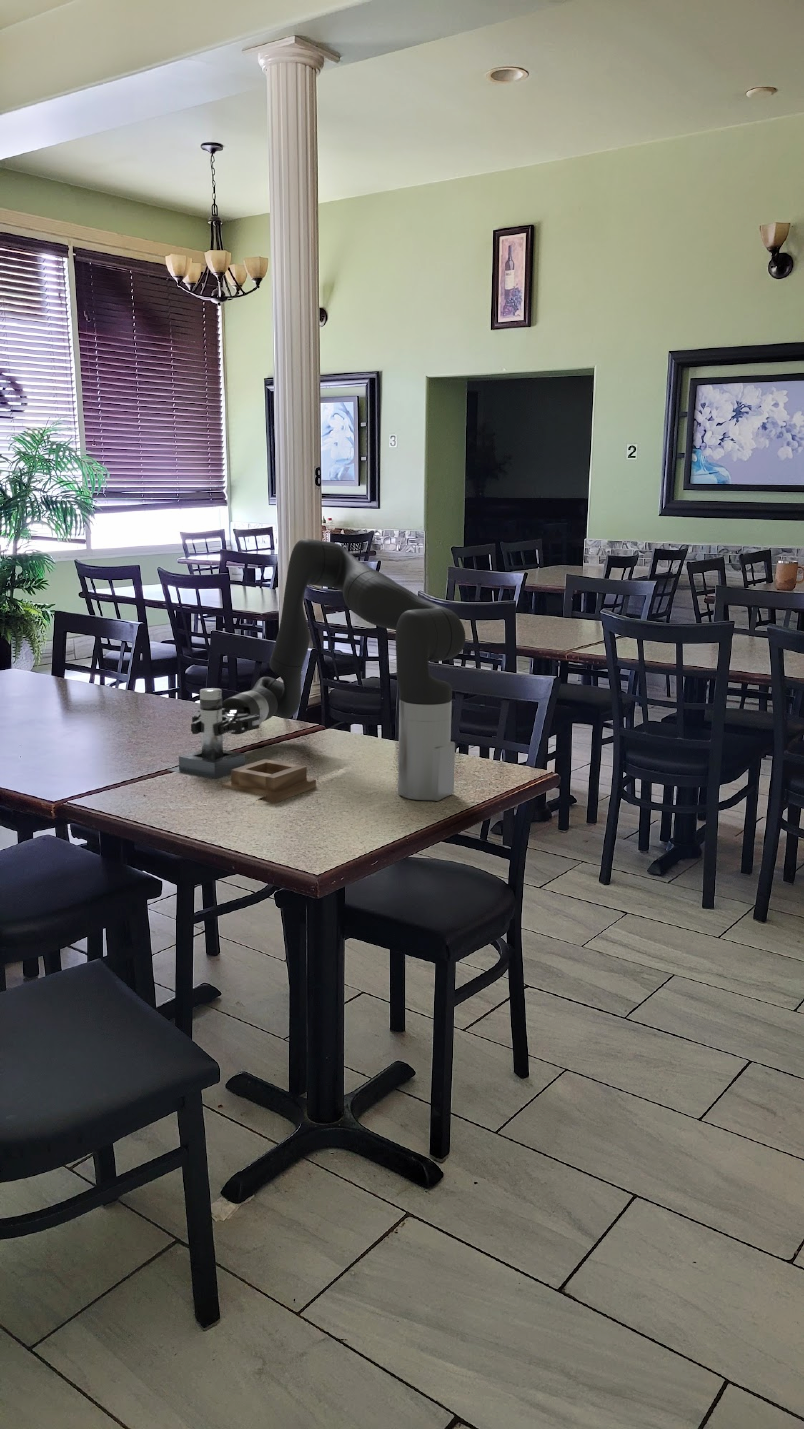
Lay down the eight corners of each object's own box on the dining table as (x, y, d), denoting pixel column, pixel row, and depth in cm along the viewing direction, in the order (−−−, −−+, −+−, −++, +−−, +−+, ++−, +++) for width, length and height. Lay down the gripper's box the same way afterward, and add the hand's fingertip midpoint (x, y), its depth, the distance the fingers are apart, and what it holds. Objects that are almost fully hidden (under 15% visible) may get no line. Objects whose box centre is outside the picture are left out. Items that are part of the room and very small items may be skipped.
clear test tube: (228, 766, 199) (226, 689, 195) (213, 771, 195) (211, 692, 192) (211, 763, 201) (209, 687, 198) (197, 768, 197) (194, 690, 194)
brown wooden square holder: (315, 787, 190) (315, 766, 189) (275, 803, 179) (274, 780, 179) (264, 777, 196) (263, 756, 195) (221, 792, 186) (221, 770, 185)
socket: (257, 770, 200) (257, 753, 199) (215, 784, 190) (215, 766, 189) (209, 761, 206) (209, 744, 205) (166, 775, 196) (166, 757, 195)
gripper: (211, 691, 211) (169, 707, 195) (276, 695, 207) (239, 712, 191) (212, 727, 212) (171, 746, 196) (276, 732, 209) (240, 752, 192)
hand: (205, 729), depth 194 cm, fingers closed on clear test tube, 4 cm apart
